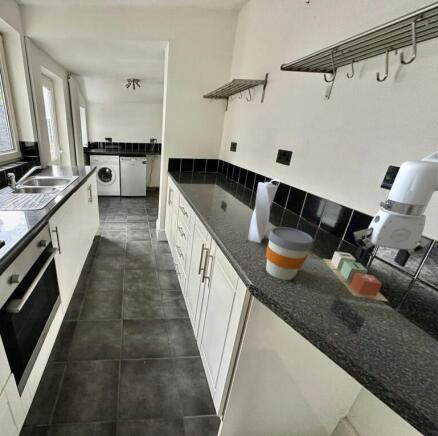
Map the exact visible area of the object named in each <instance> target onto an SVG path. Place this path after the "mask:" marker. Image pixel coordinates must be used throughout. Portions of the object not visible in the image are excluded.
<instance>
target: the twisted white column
mask: <svg viewBox="0 0 438 436" xmlns="http://www.w3.org/2000/svg"><path fill="white" fill-rule="evenodd" d="M274 181H275V182H278V183H277V185H275V184H273V182H274ZM280 184H281V181H280V180H279V179H275V178H274V179H271V180H270V181H265V182H258V184H257V190H256V195H255V205H254V208H253V212H252V216H251V219H250V224H249V229H248V230H249V231H248V235H247V241H251V242H255V243H257V244H258V243H259V244H261V243H262V240H263V239H264V237H265V234H266V230H267V228H268V225H269V219H270V215H271V214H270V212H271V206H272V204H273V202H274V199H275V197H276V194H277V190H278V188H279V185H280Z"/></svg>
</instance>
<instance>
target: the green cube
mask: <svg viewBox="0 0 438 436" xmlns="http://www.w3.org/2000/svg"><path fill="white" fill-rule="evenodd" d="M368 272H369V270H368V269H367V268H366V267H365V266H364V265H363V264H362V263H360V262H355V263H354V262H347V261H344V263H343V266H342V268H341V271H340V273H341V274H342V275H343V276H344V277H345V278H346V279H347V280H353V278H354V276H355V274H356V273H362V274H368Z"/></svg>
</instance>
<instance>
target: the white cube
mask: <svg viewBox="0 0 438 436" xmlns="http://www.w3.org/2000/svg"><path fill="white" fill-rule="evenodd" d="M331 260H332V261H331V262H332V263H333V265H334V266H335V267H336V268H338V269H341V268H342V266H343V263H344V261H347V262H354V263H356V261H357V259H356V258H355V257H354V256H353V255H352V254H351V253H349V252H343V251H334V252H333V256H332V258H331Z"/></svg>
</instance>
